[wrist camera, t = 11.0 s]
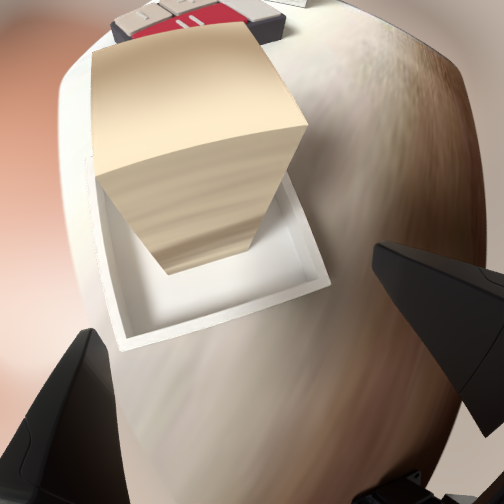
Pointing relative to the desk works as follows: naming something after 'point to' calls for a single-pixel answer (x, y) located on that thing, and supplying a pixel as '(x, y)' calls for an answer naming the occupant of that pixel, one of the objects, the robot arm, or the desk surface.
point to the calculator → (199, 18)
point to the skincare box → (292, 2)
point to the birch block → (192, 139)
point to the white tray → (200, 272)
